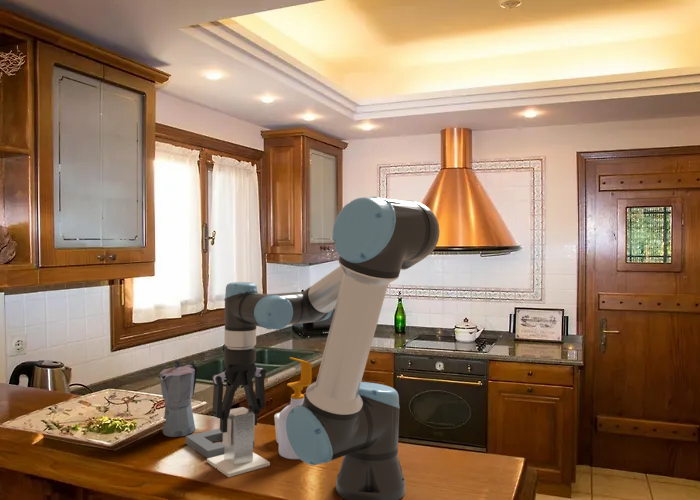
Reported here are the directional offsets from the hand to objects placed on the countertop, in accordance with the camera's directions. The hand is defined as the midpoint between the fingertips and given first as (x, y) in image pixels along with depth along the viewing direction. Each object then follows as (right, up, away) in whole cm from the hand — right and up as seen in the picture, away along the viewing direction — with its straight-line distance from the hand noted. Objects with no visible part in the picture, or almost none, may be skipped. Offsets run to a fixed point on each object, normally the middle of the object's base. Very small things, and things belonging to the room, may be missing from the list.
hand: (238, 441), depth 136 cm
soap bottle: (+13, -6, +7) cm, 16 cm away
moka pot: (-21, -5, +22) cm, 31 cm away
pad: (0, -5, 0) cm, 5 cm away
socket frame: (-7, -5, +12) cm, 15 cm away
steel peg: (0, -5, 0) cm, 5 cm away
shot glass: (+10, -5, +16) cm, 20 cm away
